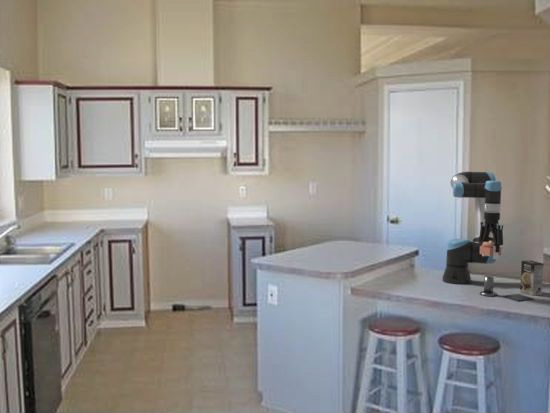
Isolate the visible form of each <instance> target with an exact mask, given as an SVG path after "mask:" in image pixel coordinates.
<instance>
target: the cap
mask: <svg viewBox="0 0 550 413" xmlns="http://www.w3.org/2000/svg"><path fill="white" fill-rule="evenodd" d="M494 245H495V243H494V242H493V241H489V242H483V246H480V254H483V255H487V256H493V247H494ZM501 255H502V247H501V246H500V248H499V256H501Z"/></svg>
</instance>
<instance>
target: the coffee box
mask: <svg viewBox="0 0 550 413" xmlns="http://www.w3.org/2000/svg"><path fill="white" fill-rule="evenodd" d="M543 278H544V263H543V262H538V261H534V260H522V261H521V271H520V286H519V287H520V289H519V292H521V293H524V294H527V295H529V294H530V295H529V296H541V295H542V293H543V280H544V279H543Z"/></svg>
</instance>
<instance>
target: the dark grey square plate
mask: <svg viewBox="0 0 550 413" xmlns="http://www.w3.org/2000/svg"><path fill="white" fill-rule="evenodd" d="M502 297H503V298H506V299H508V300H512V301H515V302H524V301H525V300H526V301H533V300H535V298H533V297H530V296H527V295H523V294H521V293H514V294H504V295H502Z"/></svg>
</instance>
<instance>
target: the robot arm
mask: <svg viewBox="0 0 550 413" xmlns="http://www.w3.org/2000/svg"><path fill="white" fill-rule="evenodd" d="M450 187H451V189H452V196H453V198H459V199H461V198H462V199H463V198H467V199H468V198H469V199H470V198H472V199H474V222H475V224H474V225H475V227H474V228H475V229H474V230H475V237H473V238H472V241H471V240H470V239H469V238H464V237H463V238H462V237H461V238H454V239H450V240H448V241H447V244H446V261H445V262H446V264H445V269H444V272H443V274H442V277H441V278H442V279H441V280H442V281H443V282H444V283H447V284H453V285H455V284H456V285H465V284H470V283H472V277H471V273H470V270H469V264H482V265H483V264H484V265H485V264H486V265H487V264H488V265H492V264H495V263H496V260H499V256H500V255H499V248H500V247H501V246H504V234H503V230H504V225H503V224H500V223H499V222H500V219H501V213H500V212H501V205H502V204H501V201H502V200H501V198H502V188H503V187H502V182H501V181H499V180H496V175H495V174H494V173H493V172H490V171H489V172H488V171H462V172H458V173H457V174H455V175H453V176H452V177H451V179H450ZM489 241H493V242H494V243H495V245H494V247H493V256H487V255H483V254H480V246H483V242H489Z"/></svg>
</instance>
